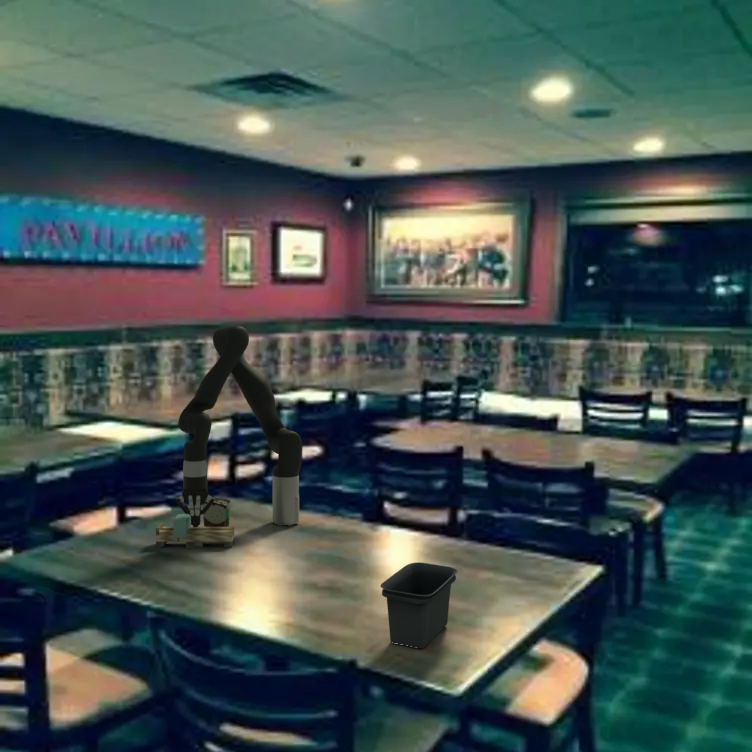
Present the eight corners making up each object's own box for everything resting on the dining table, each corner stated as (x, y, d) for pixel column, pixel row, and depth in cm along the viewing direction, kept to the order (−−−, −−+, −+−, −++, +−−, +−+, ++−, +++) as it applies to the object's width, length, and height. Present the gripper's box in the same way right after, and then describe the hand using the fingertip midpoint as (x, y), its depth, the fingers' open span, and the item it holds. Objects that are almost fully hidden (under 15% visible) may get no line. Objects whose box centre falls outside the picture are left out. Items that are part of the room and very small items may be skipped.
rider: (191, 529, 277) (190, 513, 277) (186, 537, 269) (185, 520, 268) (178, 529, 277) (178, 513, 277) (173, 537, 269) (173, 520, 268)
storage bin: (428, 657, 191) (430, 595, 190) (366, 644, 198) (367, 585, 197) (460, 624, 211) (461, 568, 209) (402, 613, 217) (403, 559, 216)
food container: (239, 528, 293) (239, 500, 292) (227, 532, 288) (227, 504, 287) (213, 523, 299) (213, 495, 298) (201, 527, 294) (200, 498, 293)
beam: (234, 542, 277) (234, 522, 277) (231, 548, 271) (231, 528, 270) (160, 541, 276) (160, 522, 276) (155, 547, 270) (155, 528, 269)
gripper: (217, 471, 275) (218, 523, 277) (176, 471, 275) (177, 523, 276) (214, 476, 268) (214, 530, 269) (172, 476, 267) (172, 529, 269)
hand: (195, 526), depth 273 cm, fingers closed
